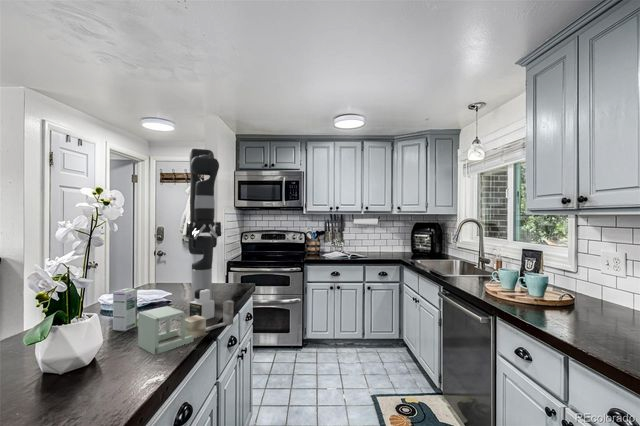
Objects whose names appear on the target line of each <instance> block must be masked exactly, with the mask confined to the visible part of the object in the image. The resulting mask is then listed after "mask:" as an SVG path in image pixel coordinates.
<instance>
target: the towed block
mask: <svg viewBox="0 0 640 426" xmlns="http://www.w3.org/2000/svg"><path fill="white" fill-rule="evenodd" d="M231 325H234V301H232V300H229V299H228V300H225V301H223V303H222V322H220V323H218V324H214V325H210V326H207V320H206V318H204V317H201V316H198V315H195V316H191V317H190V316H188V317H185V337H187V336H190V335H192V336H194V337H193V340H194V338H195V339H197V337H198V338H199V337H200V338H201V337H203V336H206V335H207V331H211V330H215V329H218V328H221V327H223V326H225V327H226V326H227V327H228V326H231Z"/></svg>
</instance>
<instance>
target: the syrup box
mask: <svg viewBox="0 0 640 426" xmlns="http://www.w3.org/2000/svg"><path fill="white" fill-rule="evenodd" d="M137 326H138V289H137V288H123V289H120V290H115V291H113V292H112V330H113V331H120V332H127V331H128V330H131V329H134V328H136V327H137Z"/></svg>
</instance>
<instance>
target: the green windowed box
mask: <svg viewBox="0 0 640 426" xmlns="http://www.w3.org/2000/svg"><path fill="white" fill-rule="evenodd" d="M177 317H180V338H179V339H175V340H172V341H168V342H165V343H163V344H160V343H159V342H161V341H163V340H167V339H170V338H174V337H176V336H179V329H178V328H175V329H171V328H170V327H171V326H170V325H171V319H173V318H177ZM185 318H186V313H185V311H183V310H180V309H177V308H174V307H171V306H169V305H166V306H162V307H157V308H153V309H147V310H143V311H139V312H138V319H137V326H138V327H137V328H138V329H137V330H138V331H137V335H138V337H137V347H139V348H141V349H143V350H145V351H146V352H149V353H151V354H152V355H154V356H155V355H159V354H161V353H165V352H167V351H171V350H173V349H177V348H178V347H179V346H180V347H183V346H185V345H189V344H191V343H193V342H194V339H193V337H194V336H192V335H190V336H187V337H185ZM163 321H165V332H161V333H160V332H159V330H160V322H163ZM190 342H191V343H190ZM184 344H185V345H184ZM182 345H183V346H182ZM176 347H177V348H176Z"/></svg>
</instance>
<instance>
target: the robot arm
mask: <svg viewBox="0 0 640 426" xmlns="http://www.w3.org/2000/svg"><path fill="white" fill-rule="evenodd" d="M219 169H220V162H219V161H218V159H216V158H215V155H214V152H213V151H212V150H210V149H204V148H203V149H202V148H191V149H190V151H189V172H190V177H189V178H190V185H189V186H190V189H189V190H190V191H189V221H187V222H186V232H185V237H186V238H187V239H188V242H187V243H188V247H187V248H188V251H189V253H190V255H198V256H200V255H201V256H202V255H203V256H202V258H201V259H200V260H197V261H195V262H193V263H192V264H191V299H190V302H192V301H195V291H196V290H198V289H209V290H210V299H209V300H214V283H213V262H214V261H213V260H214V259H213V258H214V257H213V256H214V248H216V246H217V244H218V238H219V237H221V236H222V225H221V224H222V223H221V221H215V209H216V208H215V205H216V204H215V183H216V179H217V175H218V173H219ZM200 176H209V177H208V178H207V179H204V180H201V178H200ZM205 233H206V234H207V233H208V234H209V235H201V234H205Z"/></svg>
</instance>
